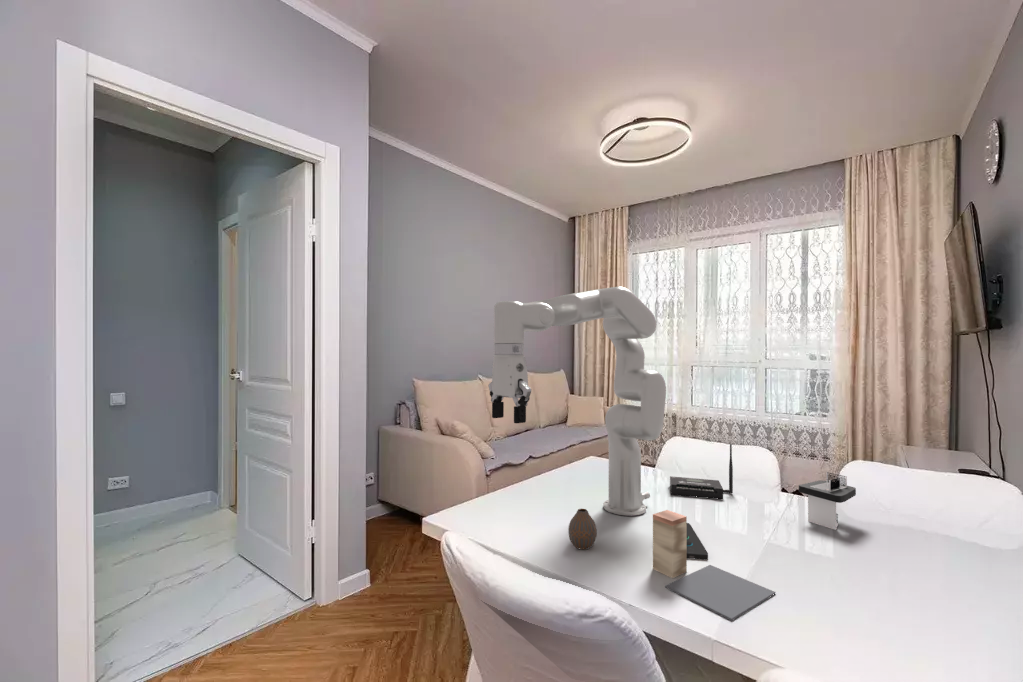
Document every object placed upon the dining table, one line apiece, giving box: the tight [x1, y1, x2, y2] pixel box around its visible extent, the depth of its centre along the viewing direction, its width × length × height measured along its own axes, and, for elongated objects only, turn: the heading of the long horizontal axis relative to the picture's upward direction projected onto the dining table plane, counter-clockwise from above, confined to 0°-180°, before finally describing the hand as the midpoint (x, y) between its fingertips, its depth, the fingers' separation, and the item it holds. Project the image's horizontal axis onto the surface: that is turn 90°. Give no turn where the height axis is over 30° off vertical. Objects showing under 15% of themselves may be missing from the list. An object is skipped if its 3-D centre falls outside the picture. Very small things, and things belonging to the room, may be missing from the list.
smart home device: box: [687, 522, 709, 561], centre depth 116 cm, size 8×2×20 cm
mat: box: [664, 564, 776, 622], centre depth 92 cm, size 16×14×1 cm
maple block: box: [652, 509, 688, 579], centre depth 101 cm, size 5×5×12 cm
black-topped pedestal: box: [798, 471, 857, 531], centre depth 130 cm, size 28×26×13 cm
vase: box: [567, 508, 598, 550], centre depth 113 cm, size 7×7×9 cm
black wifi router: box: [669, 443, 734, 500], centre depth 156 cm, size 20×14×17 cm
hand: (508, 420), depth 114 cm, fingers open, 9 cm apart
